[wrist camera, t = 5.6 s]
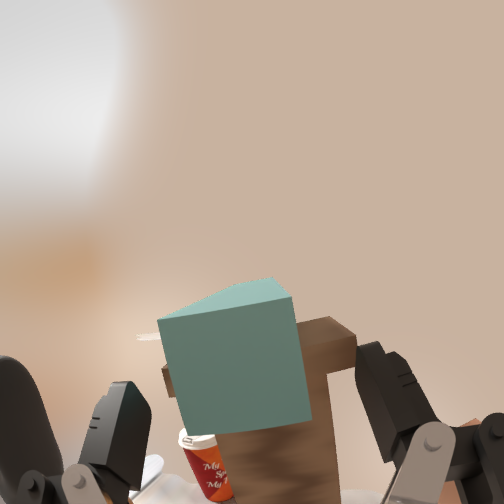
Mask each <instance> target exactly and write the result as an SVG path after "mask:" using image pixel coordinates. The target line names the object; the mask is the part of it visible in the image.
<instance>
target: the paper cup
mask: <svg viewBox="0 0 504 504" xmlns="http://www.w3.org/2000/svg"><path fill="white" fill-rule="evenodd" d="M179 437H180V438H179V444H180V446H181V447H183V449H184V452H185V454H186V456H187V459H188V461H189V463H190V466H191V468H192V470H193V472H194V474H195V476H196V479H197V481H198V483H199V485H200V487H201V489H202V491H203V493H204V495H205V496H206V498H207V499H208V500H210V501H214V502H222V501H226V500H229V499H231V498H232V497H233V496H234V495H233V492H232V489H231V486H230V483H229V480H228V477H227V474H226V471H225V468H224V465H223V461H222V458H221V455H220V452H219V448H218V445H217V442H216V438H215V435H201V436H188V435H187V432H186V429H185V428H184V429H183V430H182V431H181V432H180V435H179Z"/></svg>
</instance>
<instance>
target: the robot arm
mask: <svg viewBox="0 0 504 504" xmlns="http://www.w3.org/2000/svg"><path fill="white" fill-rule="evenodd" d="M355 381H356V386H357V389H358V392H359V395H360V397H361V400H362V403H363V405H364V408H365V411H366V413H367V416H368V419H369V422H370V424H371V427H372V430H373V433H374V436H375V438H376V441H377V444H378V447H379V450H380V453H381V456H382V459H383V461H384V463H387V462H390V461H393V462H394V465H395V467H396V470H395V472H394V475H393V477H392V480H391V482H390V484H389V486H388V489H387V491H386V493H385V495H384V497H383V499H382V501H381V503H380V504H438V500H439V497H440V494H441V491H442V488H443V485H444V482H448V481H454V482H455V485H456V488H457V491H458V494H459V497H460V501H461V504H504V414H503V413H493V414H490V415H488V416H487V417H486V418H485V419H484V420H483V421H482V423H481V424H477V425H471V426H464V427H451V426H448V425H446V424H444V423H442V422H441V421H440V420H439V419H438V418H437V417H436V415H435V413H434V411H433V409H432V408H431V406H430V404H429V402H428V400H427V398H426V396H425V394H424V392H423V390H422V389H421V387H420V385H419V383H417V379H416V378H415V376H414V374H412V370H411V369H410V367H409V365H408V363H407V361H406V360H405V359H404V358H403V357H401V356H400V355H399V354H397V353H396V352H391V353H387V354H385V352H384V350H383V348H382V346H381V345H380V343H379V342H378V341H376V342H371V343H368V344H365V345H360V346H357V348H356V362H355ZM151 415H152V414H151V409H150V406H149V404H148V403H147V401H146V400H145V398H144V397H143V396H142V394H141V393H140V391H139V390H138V388H137V387H136V385H135V384H134V383H133V382H132V381H124V382H113V383H112V384H111V385H110V388H109V391H108V394H107V396H103V397H102V398H101V399H100V401H99V402H98V404H97V405H96V406H95V409H94V412H93V415H92V420H91V421H90V425H89V429H88V431H87V434H86V438H85V441H84V444H83V448H82V451H81V455H80V458H79V461H78V463H77V464H74V465H71V466H70V467H68V468H67V469H66V470H65V472H64V468H63V461H62V456H61V453H60V450H59V447H58V445H57V443H56V440H55V437H54V434H53V431H52V429H51V426H50V423H49V420H48V417H47V414H46V410H45V408H44V404H43V401H42V398H41V396H40V393H39V391H38V388H37V386H36V384H35V382H34V380H33V378H32V376H31V375H30V373H29V372H28V370H27V369H26V368H25V367H24V366H23V365H22V364H21V363H20V362H18V361H17V360H15V359H14V358H11V357H8V356H2V355H0V495H1V497H2V498H3V500H4V501H5V503H6V504H133V502H132V500H131V499H130V498H129V497H128V496H129V490H132V491H140V489H141V481H142V474H143V468H144V461H145V455H146V448H147V442H148V436H149V431H150V425H151V419H152V418H151V417H152V416H151Z"/></svg>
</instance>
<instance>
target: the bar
mask: <svg viewBox="0 0 504 504" xmlns="http://www.w3.org/2000/svg"><path fill="white" fill-rule="evenodd" d="M157 322H158V327H159V331H160V336H161V340H162V344H163V349H164V353H165V357H166V361H167V365H168V369H169V373H170V377H171V380H172V384H173V388H174V392H175V395H176V399H177V402H178V406H179V409H180V412H181V416H182V419H183V422H184V425H185V429H186V432H187V435H188V436H201V435H215V434H226V433H235V432H244V431H252V430H259V429H266V428H272V427H278V426H284V425H290V424H295V423H300V422H305V421H310V420H312V414H311V408H310V401H309V395H308V389H307V383H306V377H305V371H304V365H303V359H302V353H301V347H300V341H299V336H298V330H297V325H296V319H295V313H294V308H293V303H292V297H291V296H290V295H289V294H288V293H287V292H286V291H285V290H284V289H283V288H282V286H281V285H280V284H279V283H278V282H277V281H276V280H275V279H274V278H273V277H271V278H266V279H261V280H256V281H250V282H245V283H240V284H235V285H233V286H231V287H228V288H226V289H224V290H222V291H220V292H217V293H215V294H213V295H211V296H209V297H207V298H204V299H202V300H200V301H198V302H196V303H194V304H191V305H189V306H187V307H185V308H182V309H180V310H178V311H176V312H173V313H172V314H169V315H167V316H165V317H162V318H160V319H158V320H157Z"/></svg>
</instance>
